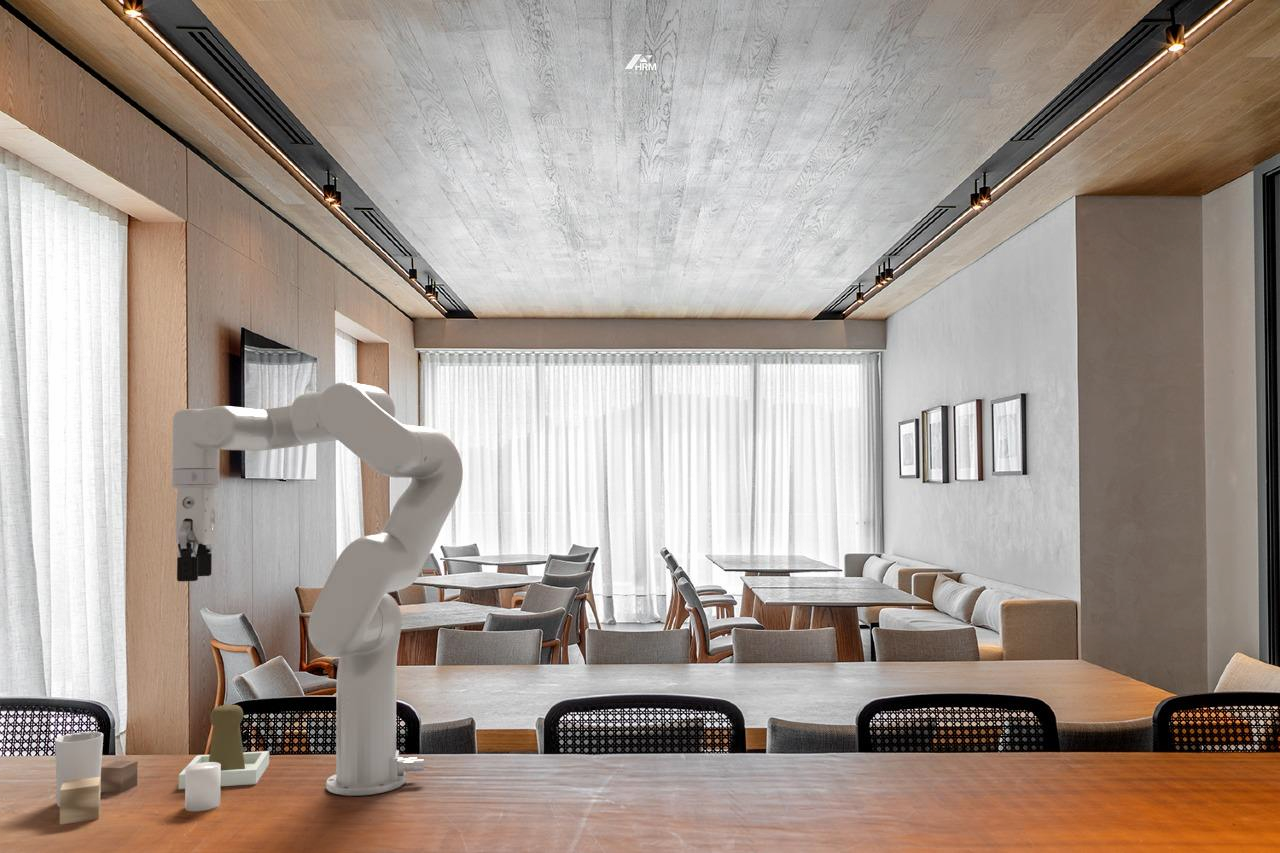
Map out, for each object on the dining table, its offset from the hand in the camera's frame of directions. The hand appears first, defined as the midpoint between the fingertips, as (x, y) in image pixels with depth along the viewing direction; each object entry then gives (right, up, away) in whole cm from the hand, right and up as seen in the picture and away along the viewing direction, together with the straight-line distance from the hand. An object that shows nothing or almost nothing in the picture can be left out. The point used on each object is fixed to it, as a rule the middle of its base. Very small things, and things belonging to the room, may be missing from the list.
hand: (194, 578), depth 172 cm
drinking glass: (-11, -33, -16) cm, 38 cm away
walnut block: (-8, -33, -10) cm, 35 cm away
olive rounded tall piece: (+7, -32, -4) cm, 33 cm away
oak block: (-7, -32, -24) cm, 40 cm away
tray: (+7, -33, -4) cm, 34 cm away
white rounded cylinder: (+10, -32, -19) cm, 39 cm away
